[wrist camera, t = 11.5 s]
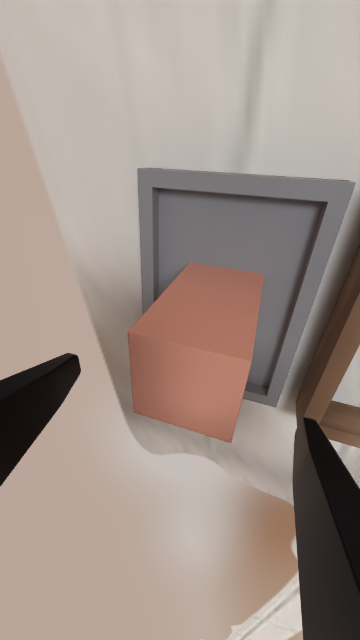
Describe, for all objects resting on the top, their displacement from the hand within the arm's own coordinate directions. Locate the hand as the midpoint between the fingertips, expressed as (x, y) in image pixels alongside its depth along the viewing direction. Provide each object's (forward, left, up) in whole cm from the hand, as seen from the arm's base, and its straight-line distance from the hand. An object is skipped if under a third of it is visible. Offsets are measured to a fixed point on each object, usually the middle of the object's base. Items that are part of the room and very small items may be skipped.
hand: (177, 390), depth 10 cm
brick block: (0, 0, -8) cm, 8 cm away
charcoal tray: (0, 0, -9) cm, 9 cm away
